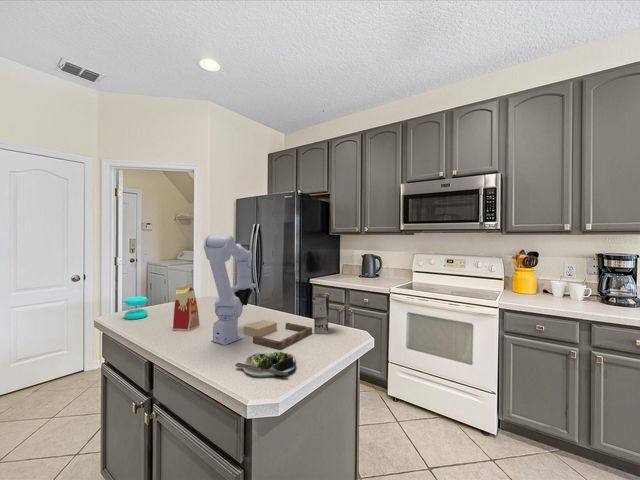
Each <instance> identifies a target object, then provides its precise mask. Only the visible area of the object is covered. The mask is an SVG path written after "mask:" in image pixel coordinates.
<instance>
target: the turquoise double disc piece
mask: <svg viewBox="0 0 640 480" xmlns="http://www.w3.org/2000/svg"><path fill="white" fill-rule="evenodd" d="M148 301H149V300H148V297H146V296H141V295H139V296H131V297H130V296H129V297H127V298H125V300H124V304H125V305H126V306H129V307H139V306H143V305H145V304H147V302H148ZM147 316H148V311H147V310H146V309H143V308H137V309H136V308H135V309H131V310H128V311H126V312H125V314H124V318H125V319H126V320H141V319H144V318H146V317H147Z"/></svg>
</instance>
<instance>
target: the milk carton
mask: <svg viewBox="0 0 640 480" xmlns="http://www.w3.org/2000/svg"><path fill="white" fill-rule="evenodd" d="M175 289H176V291H175V296H174V297H175V298H174V307H173V315H172V316H173V320H172V331H180V332H182V331H183V332H190V331H192V330H194V329H196V328H197V327H199V326H201V325H200V315H199V308H198V303H197V301H198V300H197V298H196V293H195V289H194V288H193V287H192V284H189V285H184V286H177V287H175Z"/></svg>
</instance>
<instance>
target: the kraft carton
mask: <svg viewBox="0 0 640 480" xmlns="http://www.w3.org/2000/svg"><path fill="white" fill-rule="evenodd" d="M277 325H278V323H277V322H275V321H271V320H266V319H262V320H261V319H260V320H258V321H256V322H252V323H249V324H247V325H244V328H243V329H244V330H243V331H244V333H243V334H244V335H245V336H248V337H252V338H253V336H259V337H265V336H267V335H269V334H272V333H274V332H276V331H278V330H277V328H278V326H277ZM244 335H243V336H244Z"/></svg>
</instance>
